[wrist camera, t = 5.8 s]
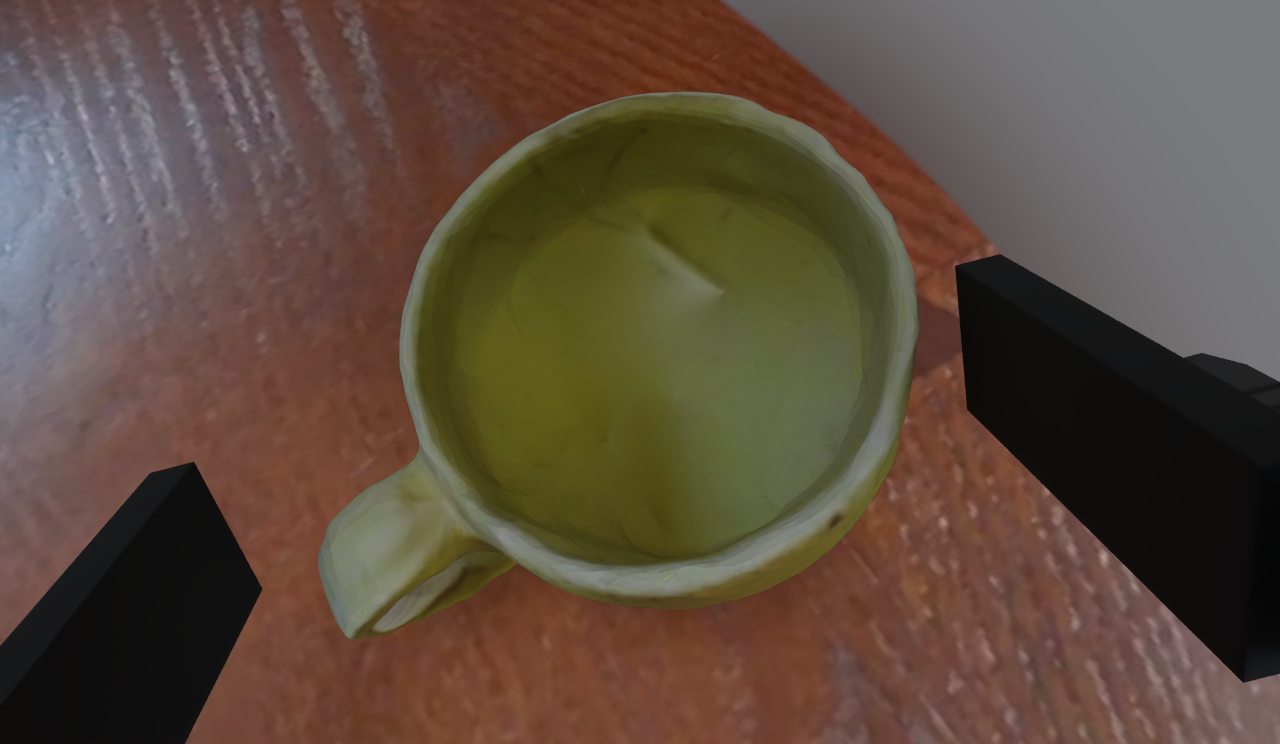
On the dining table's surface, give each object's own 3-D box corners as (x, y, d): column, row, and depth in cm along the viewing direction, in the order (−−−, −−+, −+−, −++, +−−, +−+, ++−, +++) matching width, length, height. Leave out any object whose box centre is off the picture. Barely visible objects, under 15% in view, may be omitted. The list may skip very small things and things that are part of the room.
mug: (761, 110, 23) (765, -74, 13) (944, 449, 22) (1096, 533, 12) (381, 326, 24) (122, 312, 14) (545, 646, 24) (395, 858, 14)
